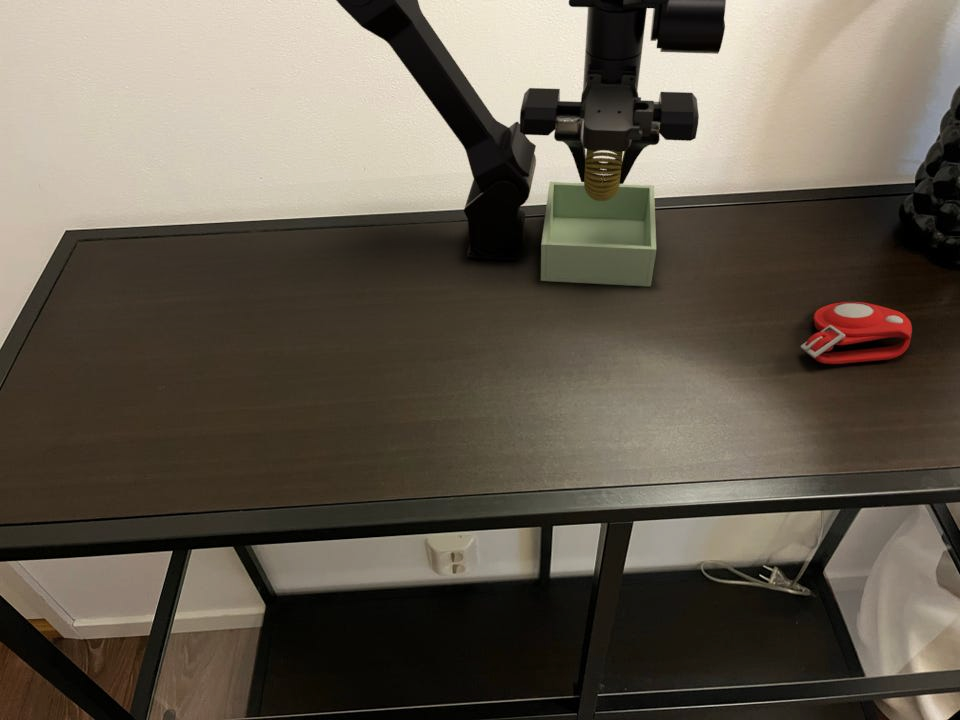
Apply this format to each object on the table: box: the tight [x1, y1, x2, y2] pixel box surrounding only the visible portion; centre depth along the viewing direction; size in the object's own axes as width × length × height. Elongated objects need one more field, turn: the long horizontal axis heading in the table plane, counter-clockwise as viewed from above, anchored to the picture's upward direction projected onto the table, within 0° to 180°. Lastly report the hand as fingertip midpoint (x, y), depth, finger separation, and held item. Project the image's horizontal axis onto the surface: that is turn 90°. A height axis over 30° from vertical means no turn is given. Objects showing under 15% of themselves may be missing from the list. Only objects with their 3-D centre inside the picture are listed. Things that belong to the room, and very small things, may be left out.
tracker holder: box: [800, 301, 913, 365], centre depth 80 cm, size 12×4×10 cm
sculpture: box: [583, 149, 624, 201], centre depth 86 cm, size 8×4×8 cm, turn 170°
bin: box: [540, 181, 657, 288], centre depth 93 cm, size 13×13×6 cm
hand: (602, 181), depth 87 cm, fingers closed on sculpture, 4 cm apart
